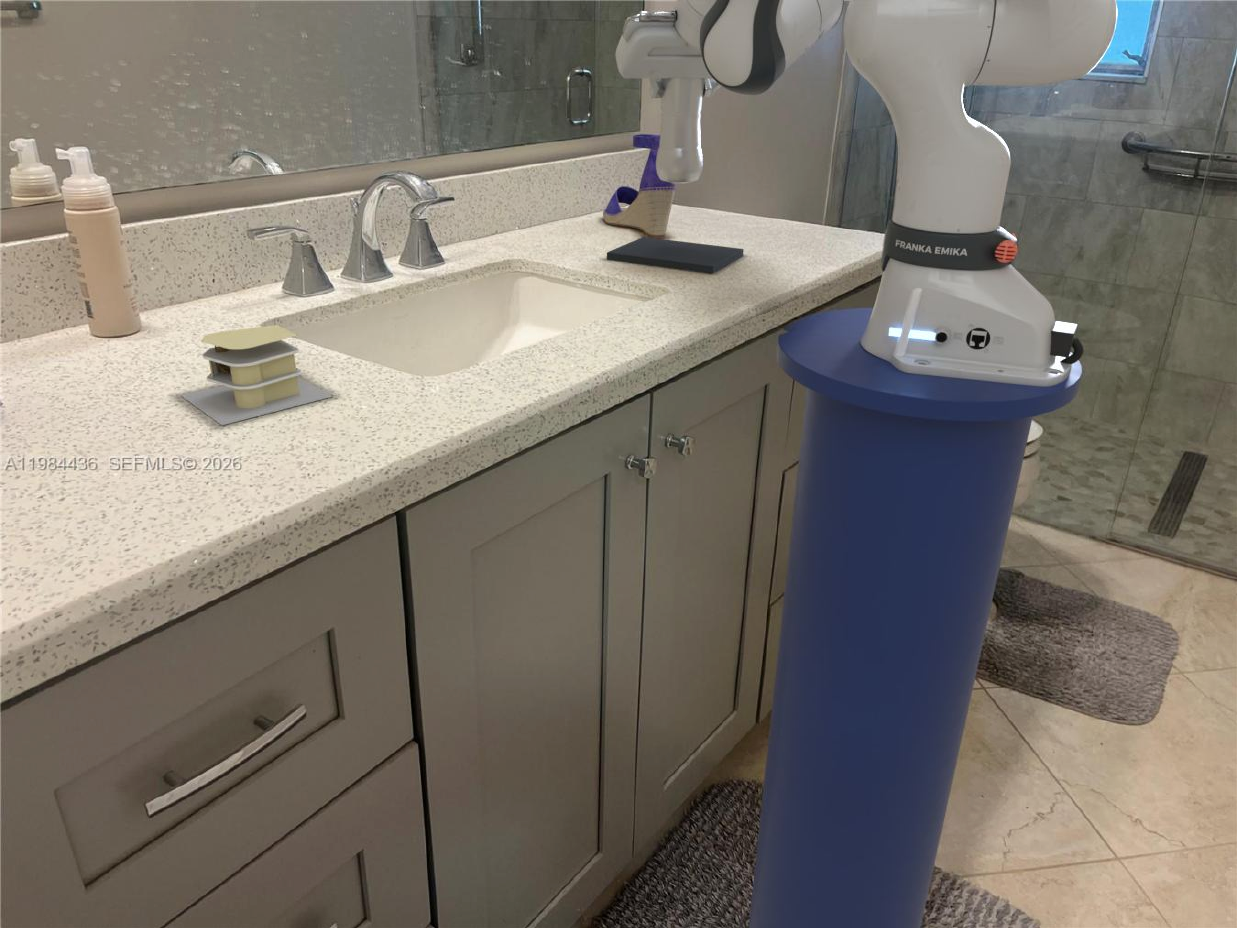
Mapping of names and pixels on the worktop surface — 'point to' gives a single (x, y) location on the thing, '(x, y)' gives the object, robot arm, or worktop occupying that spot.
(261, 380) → the stacked layers on plate
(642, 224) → the sandal
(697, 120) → the plastic bottle
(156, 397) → the worktop surface
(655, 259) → the dark rectangular flat slab
